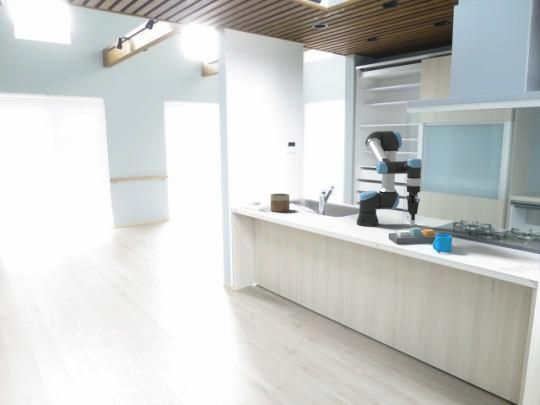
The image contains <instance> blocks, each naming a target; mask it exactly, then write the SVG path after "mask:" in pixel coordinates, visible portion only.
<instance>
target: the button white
mask: <svg viewBox="0 0 540 405" xmlns="http://www.w3.org/2000/svg"><path fill="white" fill-rule="evenodd" d="M408 232H409V231H407V230H405V229H403V230H402V229H400V230H398V229H397V231H396V233H397V235H398V236H399V237H407V236H408Z"/></svg>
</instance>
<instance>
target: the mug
mask: <svg viewBox="0 0 540 405" xmlns="http://www.w3.org/2000/svg"><path fill="white" fill-rule="evenodd" d="M432 248H433V249H434V250H435V251H436V252H439V251H440V253H451V252H452V248H453V235H451V234H446V233H437V234H436V239H435V241H434V242H433V243H432Z"/></svg>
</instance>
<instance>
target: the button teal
mask: <svg viewBox="0 0 540 405" xmlns="http://www.w3.org/2000/svg"><path fill="white" fill-rule="evenodd" d="M422 231H423V228H420V227H410V228H409V232H410V235H412V236H421V232H422Z"/></svg>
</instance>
